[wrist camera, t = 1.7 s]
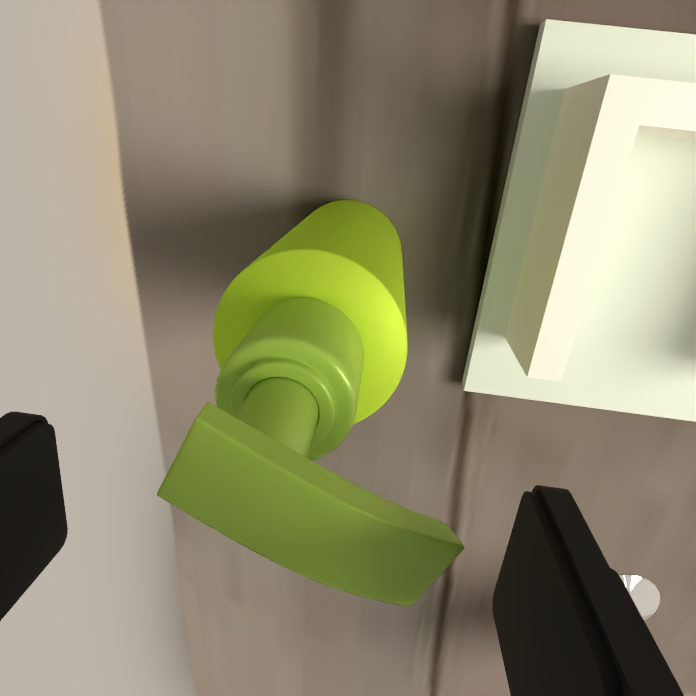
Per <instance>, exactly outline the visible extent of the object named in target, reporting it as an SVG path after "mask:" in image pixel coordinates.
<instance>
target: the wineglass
mask: <svg viewBox="0 0 696 696" xmlns="http://www.w3.org/2000/svg"><path fill="white" fill-rule="evenodd" d="M619 576H620V578H621V579H622V581H623V583H624V585H625V586H626V588H627V590H628V592H629V594H630V596H631V598H632V599H633V601H634V603H635V605H636V607H637V609H638V611H639V613H640V614H641V616H642V618H643V620H646V619H648V618H649V617H651V616H652V614H653V613H654V612H655V611H656V610H657V608H658V606H659V603H660V593H659V591H658V590H657V588H656V586H655V585H654V584H653V583H651V582H650V581H649V580H647V579H644V578H642V577H639V576H634V575H619ZM683 695H684V696H696V694H694V693H685V692H683Z"/></svg>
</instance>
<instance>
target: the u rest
mask: <svg viewBox="0 0 696 696" xmlns="http://www.w3.org/2000/svg"><path fill="white" fill-rule="evenodd" d="M462 385H463V389H464V391H471V392H479V393H486V394H493V395H501V396H508V397H516V398H523V399H531V400H538V401H546V402H553V403H561V404H568V405H576V406H583V407H591V408H598V409H606V410H613V411H620V412H628V413H635V414H643V415H650V416H658V417H665V418H673V419H680V420H688V421H695V422H696V35H694V34H685V33H675V32H665V31H655V30H646V29H636V28H626V27H616V26H607V25H597V24H587V23H577V22H568V21H558V20H548V19H546V20H545V21H544V22H542V23H541V24H540V27H539V31H538V36H537V40H536V45H535V50H534V54H533V59H532V63H531V68H530V73H529V77H528V82H527V86H526V91H525V95H524V100H523V105H522V109H521V114H520V118H519V123H518V128H517V132H516V137H515V141H514V146H513V150H512V155H511V160H510V164H509V169H508V173H507V178H506V183H505V187H504V192H503V196H502V201H501V205H500V210H499V215H498V219H497V224H496V228H495V233H494V238H493V242H492V247H491V251H490V256H489V260H488V265H487V270H486V274H485V279H484V283H483V288H482V293H481V297H480V302H479V306H478V311H477V316H476V320H475V325H474V329H473V334H472V338H471V343H470V348H469V352H468V357H467V361H466V366H465V371H464V375H463V380H462Z"/></svg>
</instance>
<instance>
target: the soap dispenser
mask: <svg viewBox="0 0 696 696" xmlns="http://www.w3.org/2000/svg"><path fill="white" fill-rule="evenodd" d="M213 340H214V349H215V354H216V358H217V361H218V364H219V367H220V369H221V371H220V374H219V377H218V380H217V384H216V404H217V407H216V406H215V405H213V404H211V403H209V402H207V403H206V405H205V406H204V408H203V409H202V410H201V412H200V413H199V414H198V416H197V417H196V419H195V421H194V422H193V424H192V426H191V428H190V430H189V432H188V434H187V436H186V438H185V440H184V442H183V444H182V446H181V448H180V450H179V452H178V454H177V456H176V457H175V459H174V461H173V463H172V465H171V467H170V469H169V471H168V473H167V475H166V477H165V479H164V481H163V483H162V485H161V487H160V489H159V491H158V493H157V495H158V496H159V497H161V498H163V499H164V500H166V501H168V502H169V503H171V504H173V505H174V506H176V507H178V508H179V509H181V510H183V511H184V512H186V513H188V514H189V515H191V516H193V517H194V518H196V519H198V520H199V521H201V522H203V523H205V524H206V525H208V526H210V527H211V528H213V529H215V530H217V531H218V532H220V533H222V534H224V535H225V536H227V537H229V538H231V539H232V540H234V541H236V542H238V543H239V544H241V545H243V546H245V547H247V548H249V549H250V550H252V551H254V552H256V553H258V554H260V555H262V556H263V557H265V558H267V559H269V560H271V561H273V562H275V563H277V564H279V565H281V566H283V567H285V568H287V569H290V570H292V571H294V572H296V573H298V574H301V575H303V576H305V577H308V578H310V579H312V580H315V581H317V582H320V583H322V584H325V585H328V586H330V587H333V588H336V589H339V590H342V591H345V592H348V593H352V594H355V595H358V596H362V597H366V598H370V599H373V600H378V601H382V602H386V603H391V604H396V605H401V606H411V605H413V604H414V603H415V602H416V601H417V600H418V599H419V598H420V597H421V596H422V595H423V594H424V592H425V591H426V590H427V589H428V588H429V587H430V586H431V585H432V584H433V583H434V582H435V581H436V579H437V578H438V577H439V576H440V575H441V574H442V573H443V572H444V571H445V569H446V568H447V567H448V566H449V565H450V564H451V563H452V562H453V561H454V559H455V558H456V557H457V556H458V555H459V554H460V553H461V552H462V550H463V549H464V545H463V544H462V543H461V541H460V540H459V539H458V538H457V536H456V535H455V534H454V533H453V532H452V530H451V529H450V528H449V527H448V525H446V524H445V523H443V522H441V521H439V520H436V519H433V518H431V517H428V516H425V515H422V514H419V513H417V512H414V511H411V510H409V509H406V508H404V507H401V506H399V505H397V504H394V503H392V502H390V501H388V500H385V499H383V498H381V497H379V496H377V495H375V494H373V493H371V492H369V491H367V490H365V489H363V488H361V487H359V486H357V485H355V484H353V483H351V482H349V481H348V480H346V479H344V478H342V477H340V476H338V475H337V474H335V473H333V472H331V471H329V470H328V469H326V468H324V467H322V466H321V465H319V464H317V463H315V462H313V461H312V460H314V459H317V458H320V457H322V456H324V455H326V454H328V453H329V452H331V451H332V450H334V449H335V448H336V447H337V446H339V445H340V444H341V442H342V441H343V440H344V439H345V438H346V436H347V435H348V433H349V431H350V429H351V427H352V425H353V424H355V423H357V422H359V421H361V420H363V419H365V418H367V417H368V416H370V415H371V414H373V413H374V412H375V411H377V410H378V409H379V408H380V407H381V406H382V405H383V404H384V403H385V402H386V401H387V400H388V399H389V397H390V396H391V395H392V393H393V392H394V390H395V389H396V387H397V385H398V383H399V381H400V379H401V377H402V374H403V371H404V368H405V364H406V358H407V348H408V343H407V326H406V310H405V293H404V277H403V261H402V248H401V242H400V239H399V236H398V233H397V231H396V229H395V227H394V226H393V224H392V223H391V222H390V220H389V219H388V218H387V217H386V216H385V215H384V214H383V213H382V212H380V211H379V210H378V209H376V208H375V207H373V206H371V205H369V204H366V203H363V202H360V201H355V200H339V201H334V202H331V203H328V204H325V205H323V206H321V207H319V208H318V209H316V210H315V211H314V212H312V213H311V214H310V215H309V216H308V217H306V218H305V219H304V220H303V221H302V222H300V223H299V224H298V225H297V226H296V227H294V228H293V229H292V230H291V231H290V232H288V233H287V234H286V235H285V236H284V237H282V238H281V239H280V240H279V241H278V242H276V243H275V244H274V245H273V246H272V247H270V248H269V249H268V250H267V251H266V252H264V253H263V254H262V255H261V256H260V257H258V258H257V259H256V260H255V261H254V262H252V263H251V264H250V265H249V266H248V267H246V268H245V269H244V270H243V271H242V272H241V273H240V274H238V275H237V276H236V278H235V279H234V280H233V281H232V282H231V284H230V285H229V286H228V288H227V289H226V291H225V292H224V294H223V296H222V298H221V300H220V303H219V305H218V308H217V311H216V315H215V320H214V328H213Z"/></svg>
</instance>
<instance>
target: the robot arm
mask: <svg viewBox="0 0 696 696" xmlns="http://www.w3.org/2000/svg"><path fill="white" fill-rule="evenodd" d="M66 537H67V521H66V513H65V506H64V498H63V491H62V483H61V475H60V468H59V460H58V453H57V445H56V437H55V431H54V428H53V426H52V425H50V424H48V422H47V420H46V418H45V417H43V416H41V415H35V414H28V413H21V412H10V413H7V414H5V415H4V416H2V417H1V418H0V621H1V619H2V618H3V617H4V616H5V615H6V614H7V612H8V611H9V610H10V609H11V608H12V606H13V605H14V604H15V603H16V602H17V600H18V599H19V598H20V597H21V596H22V594H23V593H24V592H25V591H26V590H27V589H28V587H29V586H30V585H31V584H32V583H33V582H34V580H35V579H36V578H37V577H38V576H39V574H40V573H41V572H42V571H43V570H44V568H45V567H46V566H47V565H48V564H49V562H50V561H51V560H52V559H53V558H54V557H55V555H56V554H57V553H58V552H59V551H60V549H61V548H62V546H63V545H64V543H65V540H66ZM493 615H494V620H495V624H496V629H497V634H498V638H499V643H500V648H501V652H502V657H503V661H504V666H505V671H506V675H507V680H508V684H509V689H510V694H511V696H684V695H683V693H682V691H681V689H680V687H679V685H678V683H677V681H676V680H675V678H674V676H673V674H672V672H671V670H670V668H669V667H668V665H667V663H666V661H665V659H664V657H663V655H662V654H661V652H660V650H659V648H658V646H657V644H656V642H655V640H654V639H653V637H652V635H651V633H650V631H649V629H648V627H647V626H646V624H645V622H644V620H643V618H642V616H641V614H640V613H639V611H638V609H637V607H636V605H635V603H634V601H633V599H632V598H631V596H630V594H629V592H628V590H627V588H626V586H625V585H624V583H623V581H622V579H621V578H620V576H619V575H618V573H617V572H616V571H614V570H613V569H611V568H610V567H609V565H608V563H607V562H606V560H605V558H604V556H603V554H602V552H601V550H600V548H599V546H598V544H597V542H596V540H595V539H594V537H593V535H592V533H591V531H590V529H589V527H588V525H587V523H586V521H585V519H584V518H583V516H582V514H581V512H580V510H579V508H578V506H577V504H576V502H575V500H574V498H573V496H572V495H571V493H570V492H569V490H566V489H561V488H554V487H547V486H540V485H537V486H535V487H534V489H533V490H532V492H527V491H526V492H524V494H523V495H522V498H521V502H520V505H519V508H518V512H517V515H516V519H515V522H514V526H513V529H512V532H511V536H510V539H509V543H508V546H507V550H506V553H505V557H504V560H503V563H502V567H501V570H500V574H499V577H498V581H497V584H496V587H495V591H494V595H493Z"/></svg>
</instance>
